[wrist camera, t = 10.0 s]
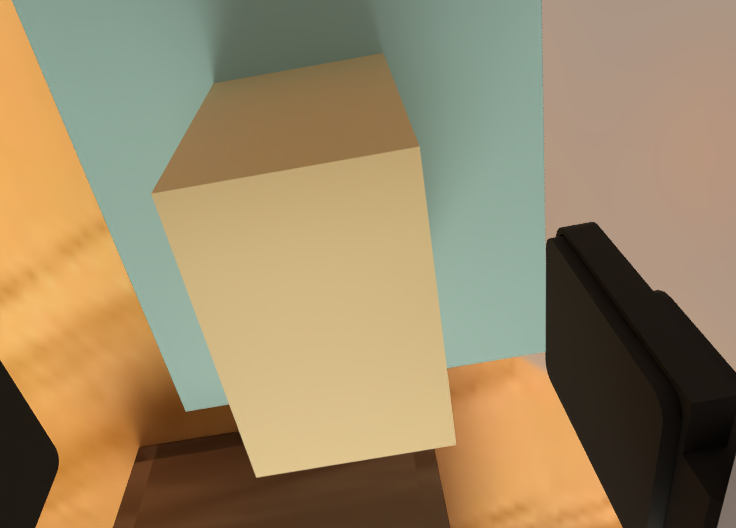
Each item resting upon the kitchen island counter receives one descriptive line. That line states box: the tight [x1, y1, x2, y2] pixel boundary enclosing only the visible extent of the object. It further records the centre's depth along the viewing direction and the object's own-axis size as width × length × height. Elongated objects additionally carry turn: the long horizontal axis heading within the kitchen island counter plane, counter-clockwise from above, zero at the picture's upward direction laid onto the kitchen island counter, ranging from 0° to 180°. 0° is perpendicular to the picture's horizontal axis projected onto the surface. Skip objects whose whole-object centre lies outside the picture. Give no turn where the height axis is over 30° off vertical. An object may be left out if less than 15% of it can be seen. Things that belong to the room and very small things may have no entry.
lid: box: [12, 0, 546, 478], centre depth 16 cm, size 15×13×9 cm
